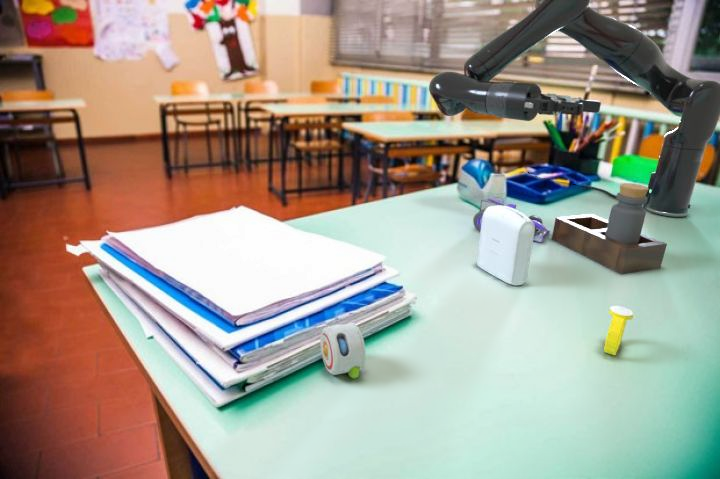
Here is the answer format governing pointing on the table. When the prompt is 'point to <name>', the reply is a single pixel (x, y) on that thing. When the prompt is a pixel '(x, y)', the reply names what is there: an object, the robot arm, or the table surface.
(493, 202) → the toy race car
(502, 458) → the table surface
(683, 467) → the table surface
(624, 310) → the white topped yellow dowel
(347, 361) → the roller toy
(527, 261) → the photo printer
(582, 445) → the table surface
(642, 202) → the bottle
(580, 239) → the box
